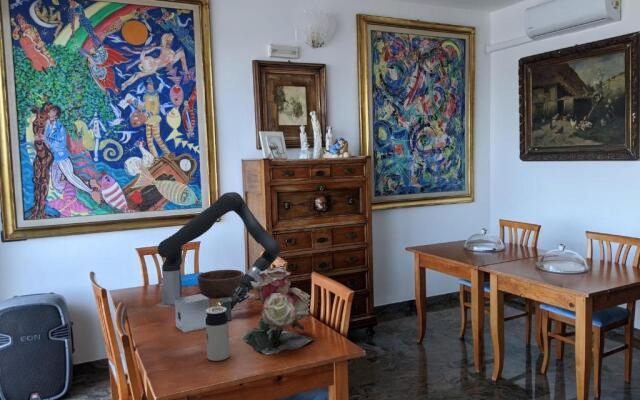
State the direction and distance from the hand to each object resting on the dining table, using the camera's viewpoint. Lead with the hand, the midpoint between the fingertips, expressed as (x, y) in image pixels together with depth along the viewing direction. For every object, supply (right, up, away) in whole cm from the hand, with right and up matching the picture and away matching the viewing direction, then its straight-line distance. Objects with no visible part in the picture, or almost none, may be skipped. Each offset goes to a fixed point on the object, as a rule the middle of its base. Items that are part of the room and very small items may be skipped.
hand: (229, 308), depth 236 cm
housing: (-14, -6, -9) cm, 18 cm away
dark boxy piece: (-8, -5, -5) cm, 11 cm away
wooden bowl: (-12, -2, +47) cm, 49 cm away
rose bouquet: (+26, -7, -30) cm, 41 cm away
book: (-38, -1, +72) cm, 81 cm away
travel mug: (+4, -9, -45) cm, 46 cm away
